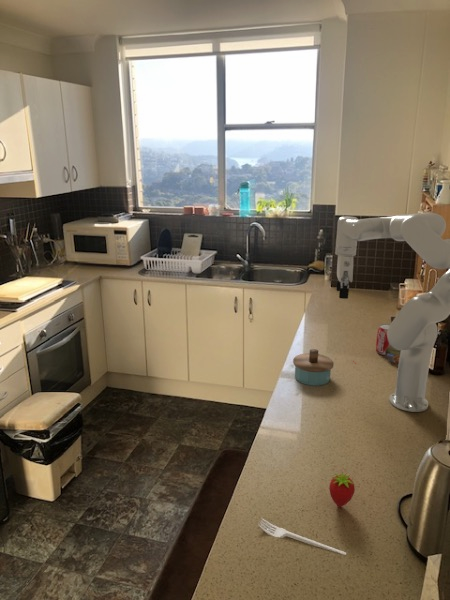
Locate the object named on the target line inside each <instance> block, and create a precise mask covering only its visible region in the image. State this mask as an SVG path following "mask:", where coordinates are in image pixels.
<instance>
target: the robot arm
mask: <svg viewBox="0 0 450 600" xmlns="http://www.w3.org/2000/svg"><path fill="white" fill-rule="evenodd" d="M446 228H447V223H446V220H445V218H444V217H443V216H442V215H440V214H438V213H435V212H424V213H410V214H409V213H407V214H406V213H405V214H396V215H395V216H384V217H383V216H381V217H370V218H369V217H368V218H361V219H359V218H358V217H356V216H349V215H348V216H345V215H344V216H340V217H339V218H338V220H337V227H336V229H337V230H336V239H335V252H334V254H335V255H336V256H337V261H336V262H337V264H336V265H337V266H336V277H337V280H336V289H335V290H336V291H337V292H339V294H338V295H339V296H338V297H339V299H342V300H343V299H344V300H345V299H346V300H347V299H349V291H350V290H349V289H350V285H349V283H352V282H353V277H354V276H353V274H354V257H355V256H356V255H357V246H358V242H361V241H364V242H365V241H370V240H377V239H378V240H379V239H392V240H393V241H396V242H405V243H407V244H408V245H409V247H411V249H412V250H413V251H414V252H415V253H417V255H418V256H419V257H420V258H421V259H422V260H423V261H424V262H425V263H426V264H427V265H429V266H430V267H432V268H433V269H436V270H447V269H448V270H447V271H445V272H444V273H443V274H442V276H440V277H439V278H438V280H437V282H436V283H435V285H433V287H432V288H431V289H430V290H429V291H428V292H426V293H423V294H419V295H416V296H414V297H411V298H410V299H408V300H407V301H406V302H405V303H404V304H403V306H402V307H401V309H399V311H398V313H397V314H396V316H395V317H394V318H393V320H392V321H391V323H390V324H389V325H390V326H389V328H388V332H387V338H388V341H389V343H390V345H391V346H392V347H393V348H395V349H397V350H401V353H400V358H399V364H398V366H397V375H396V382H395V390H394V392H393V393H391V394H390V395H389V403H390V404H391V405H392V406H393V407H395V408H397V409H399V410H402V411H405V412H411V413H421V412H424V411H426V410H427V409H428V408H429V401H428V400H427V399H426V398H425V396H426V390H427V384H428V376H429V368H430V364H431V357H432V352H433V349H434V346H435V343H436V341H437V337H438V326H437V323H439V322H442V321H445V320H446V319H447V318H448V317H449V316H450V238H445V239H443V238H442V236H443V234H444V233H445V232H446Z"/></svg>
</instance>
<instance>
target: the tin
mask: <svg viewBox="0 0 450 600" xmlns="http://www.w3.org/2000/svg"><path fill="white" fill-rule="evenodd" d="M400 353H401V350H397V349H395V348H393V347H392V346H391V345H389V346H388V347H387V348H386V351H385V355H384V356H385V358H386V359H387V360H388V361H389V362H390V363H392V364H397V365H399V358H400Z"/></svg>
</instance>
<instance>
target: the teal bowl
mask: <svg viewBox="0 0 450 600" xmlns="http://www.w3.org/2000/svg"><path fill="white" fill-rule="evenodd" d="M294 366H295V365H294ZM331 370H332V369H330V370H328V371H325V372H309V371H304V370H301V369H299V368H297V367H296V366H295V367H294V379H295V380H296V381H297V382H298V383H300V384H303V385H306V386H312V387H313V386H314V387H317V386H324V385H326V384H328V383H329V382H330V379H331V372H332V371H331Z"/></svg>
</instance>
